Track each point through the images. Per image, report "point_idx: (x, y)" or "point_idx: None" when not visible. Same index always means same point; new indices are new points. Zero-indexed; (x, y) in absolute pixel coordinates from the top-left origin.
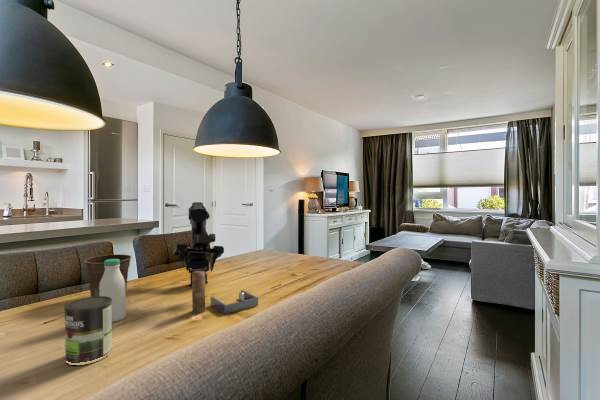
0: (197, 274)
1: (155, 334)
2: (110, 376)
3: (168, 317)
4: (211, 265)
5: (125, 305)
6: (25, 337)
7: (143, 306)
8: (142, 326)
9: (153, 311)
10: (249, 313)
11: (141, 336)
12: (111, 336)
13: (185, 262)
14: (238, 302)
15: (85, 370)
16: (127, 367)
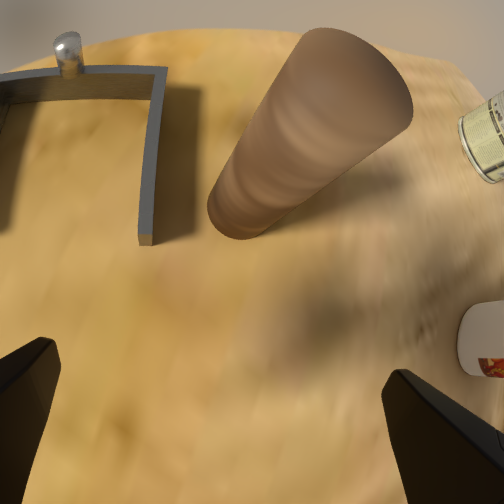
0: (371, 51)
1: None
2: (439, 65)
3: (364, 229)
4: (18, 398)
5: (488, 329)
6: None
7: None
8: (429, 213)
9: (395, 340)
10: (88, 52)
11: (427, 149)
12: (480, 117)
13: (478, 428)
14: (91, 66)
15: (469, 108)
16: (426, 64)
